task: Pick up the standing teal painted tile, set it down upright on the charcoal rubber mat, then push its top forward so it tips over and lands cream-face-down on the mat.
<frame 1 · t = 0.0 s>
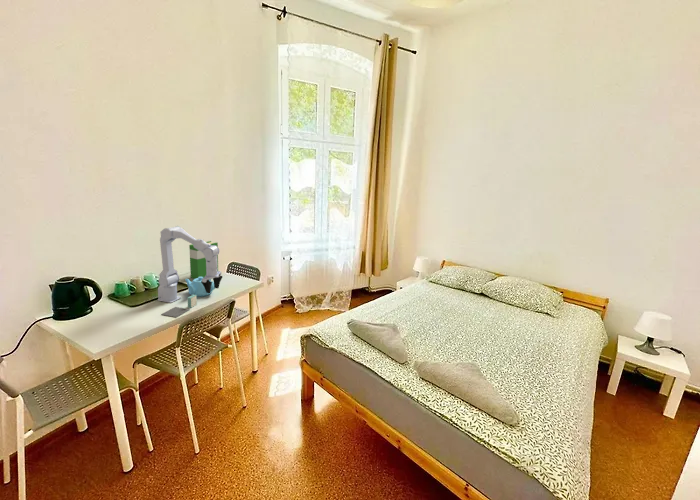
hand: (212, 290, 177), 10 cm above the table, fingers open, 7 cm apart
teal tile: (192, 306, 178), on the table
hardback book: (204, 276, 228), on the table
teapot: (200, 293, 197), on the table
charcoal mat: (175, 312, 169), on the table
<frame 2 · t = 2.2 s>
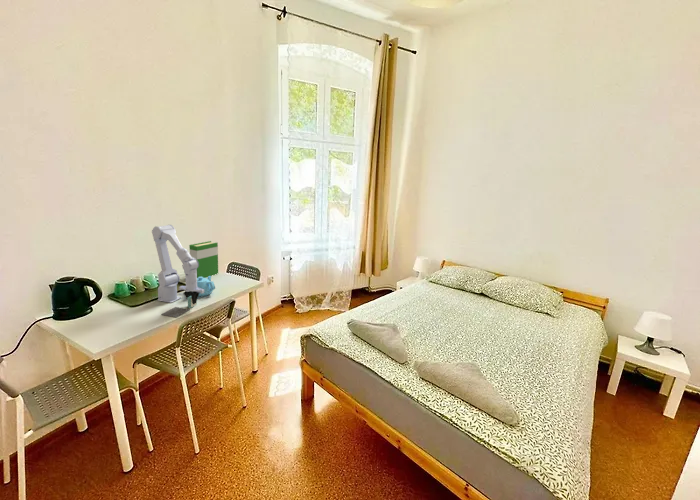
hand: (192, 303, 178), 2 cm above the table, fingers closed on teal tile, 2 cm apart
teal tile: (192, 306, 178), on the table, touching gripper
everything else where it was.
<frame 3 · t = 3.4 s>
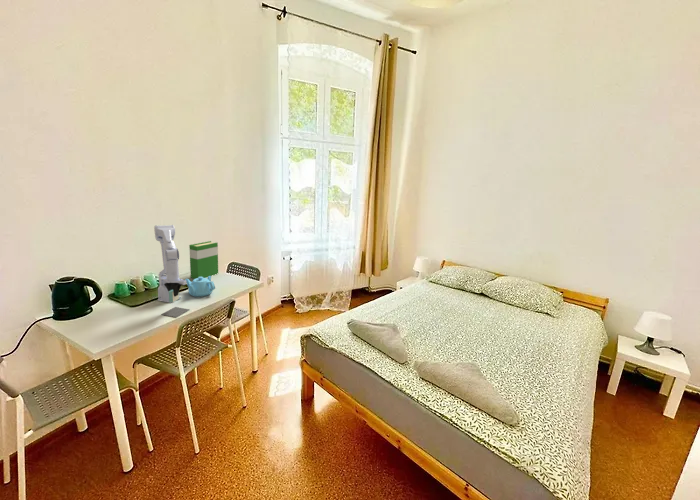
hand: (173, 295, 169), 9 cm above the table, fingers closed on teal tile
teal tile: (174, 300, 169), point 6 cm above the table, touching gripper
everything else where it was.
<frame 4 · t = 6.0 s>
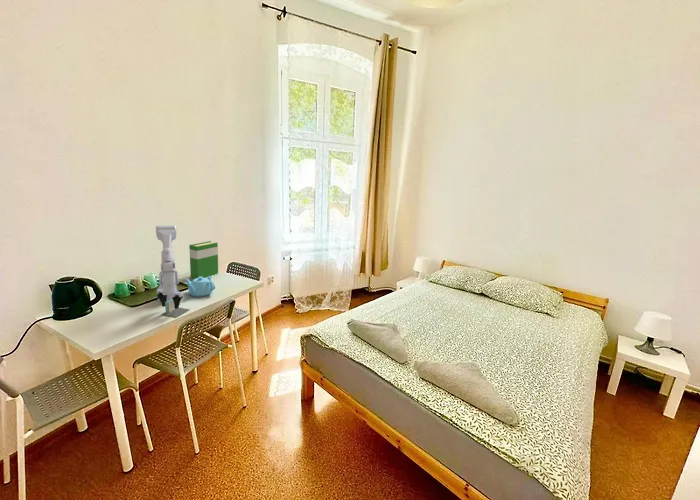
hand: (170, 307, 169), 3 cm above the table, fingers open, 7 cm apart
teal tile: (170, 310, 169), resting on charcoal mat
everything else where it was.
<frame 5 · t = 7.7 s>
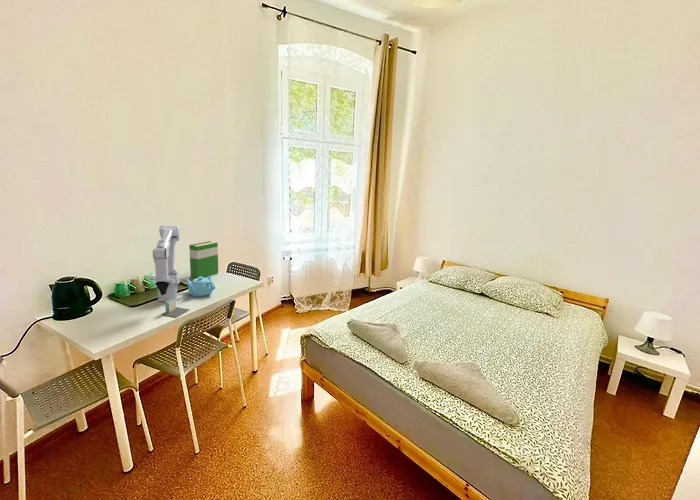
hand: (163, 294, 168), 9 cm above the table, fingers closed
nothing on the table moved.
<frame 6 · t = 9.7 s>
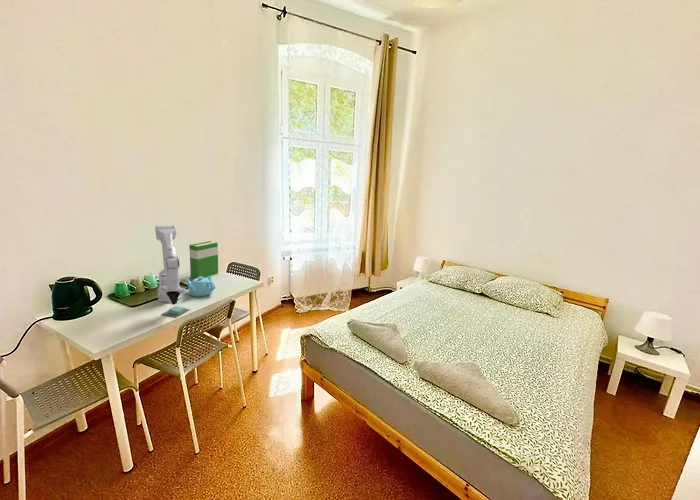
hand: (174, 303, 168), 5 cm above the table, fingers closed
teal tile: (172, 309, 169), point 1 cm above the table, tilted 90°, touching charcoal mat
everything else where it was.
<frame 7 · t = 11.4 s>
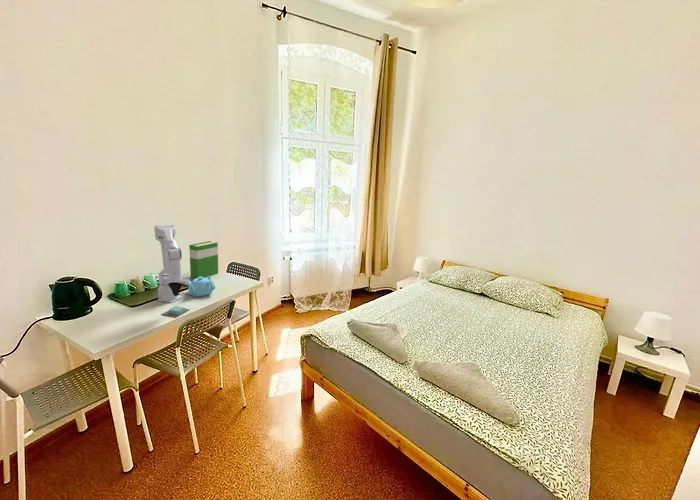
hand: (176, 295, 167), 10 cm above the table, fingers closed
nothing on the table moved.
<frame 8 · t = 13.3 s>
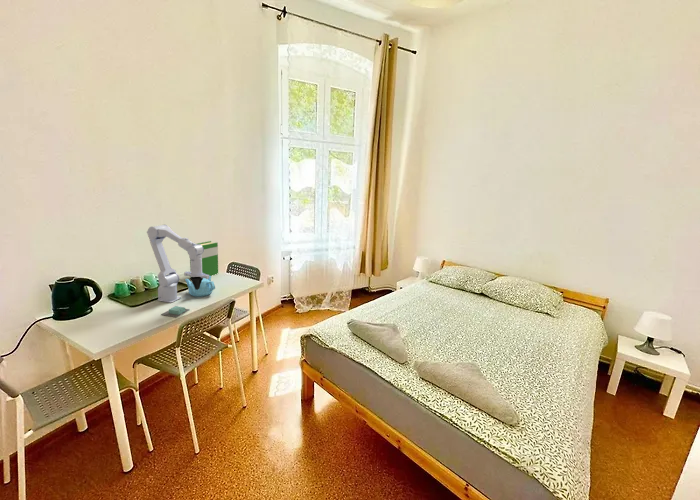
hand: (197, 289, 177), 10 cm above the table, fingers closed
nothing on the table moved.
at the end: teal tile tilted 90°; teal tile inside the target area (2.5 cm from its centre), point 1.4 cm above the table; the gripper is holding nothing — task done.
